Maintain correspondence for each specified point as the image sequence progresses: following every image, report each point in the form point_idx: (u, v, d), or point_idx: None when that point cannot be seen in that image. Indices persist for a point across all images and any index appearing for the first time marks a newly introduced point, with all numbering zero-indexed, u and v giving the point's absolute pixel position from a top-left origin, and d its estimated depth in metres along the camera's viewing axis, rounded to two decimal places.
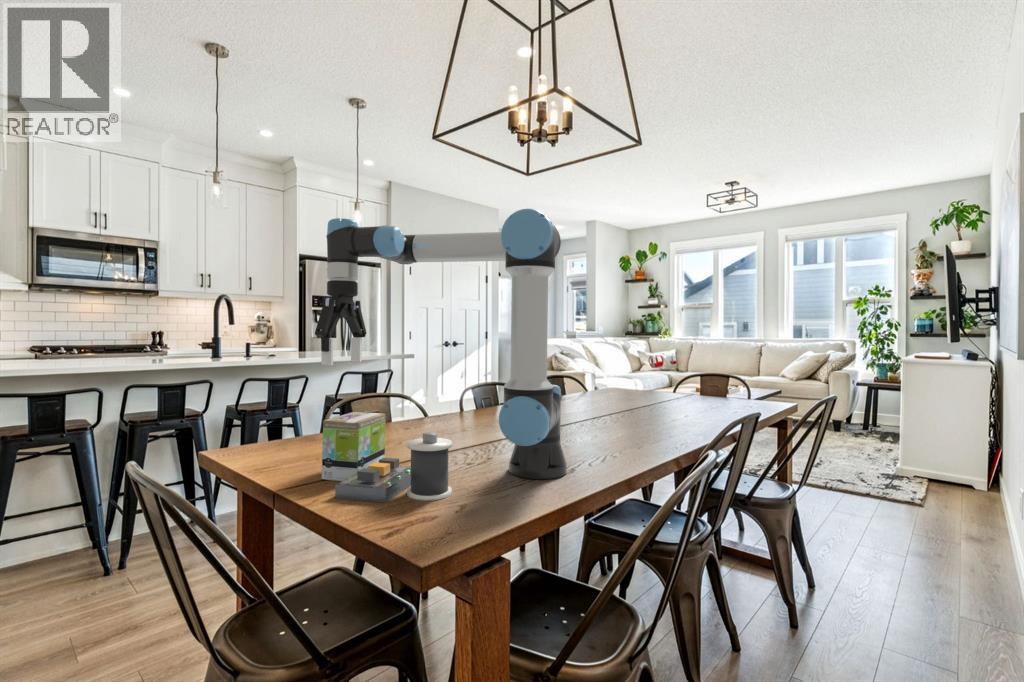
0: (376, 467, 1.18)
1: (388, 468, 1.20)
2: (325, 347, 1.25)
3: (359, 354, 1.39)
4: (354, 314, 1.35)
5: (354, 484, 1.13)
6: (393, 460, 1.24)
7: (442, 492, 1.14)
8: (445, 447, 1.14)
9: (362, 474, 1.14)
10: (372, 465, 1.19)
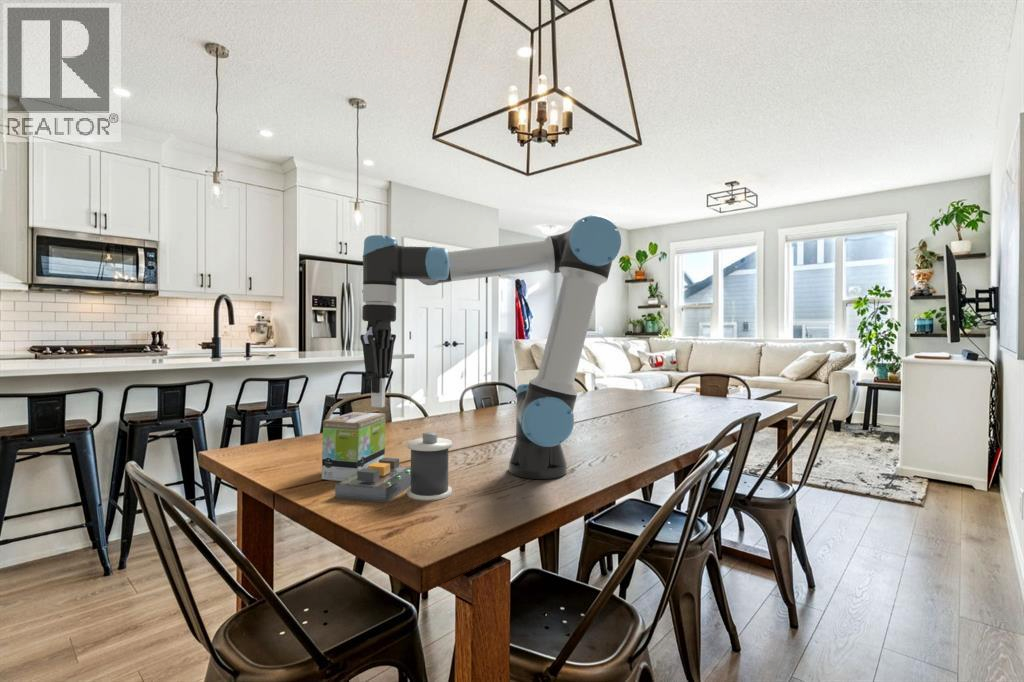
0: (376, 467, 1.18)
1: (388, 468, 1.20)
2: (376, 388, 1.17)
3: None
4: (387, 344, 1.20)
5: (354, 484, 1.13)
6: (393, 460, 1.24)
7: (442, 492, 1.14)
8: (445, 447, 1.14)
9: (362, 474, 1.14)
10: (372, 465, 1.19)
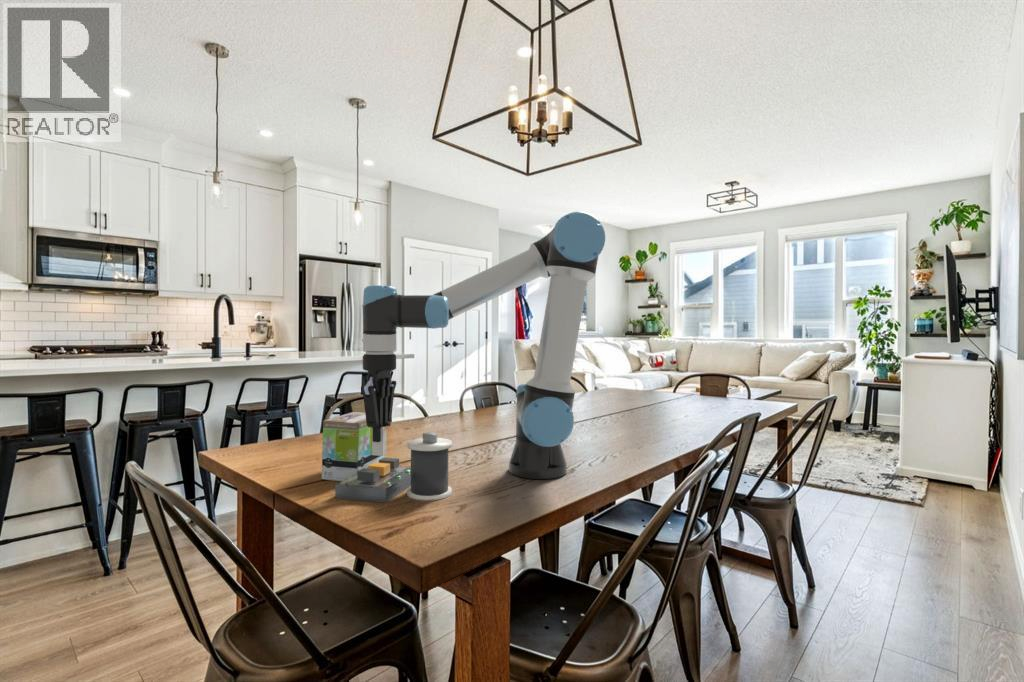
0: (376, 467, 1.18)
1: (388, 468, 1.20)
2: (377, 437, 1.18)
3: None
4: (388, 392, 1.20)
5: (354, 484, 1.13)
6: (393, 460, 1.24)
7: (442, 492, 1.14)
8: (445, 447, 1.14)
9: (362, 474, 1.14)
10: (372, 465, 1.19)
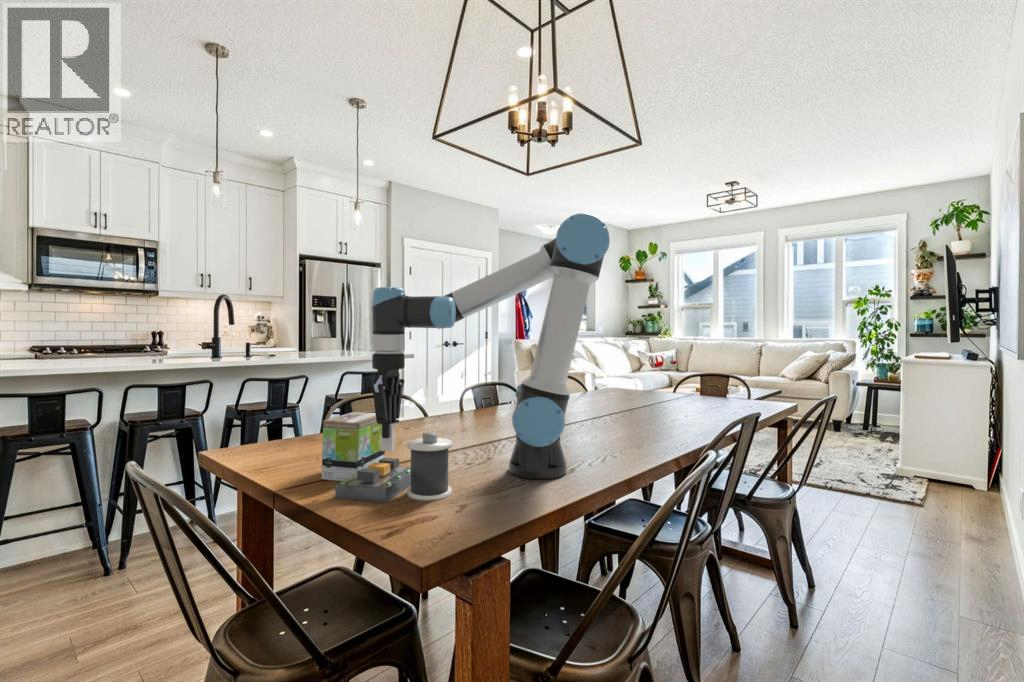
0: (376, 467, 1.18)
1: (388, 468, 1.20)
2: (386, 434, 1.22)
3: None
4: (397, 390, 1.24)
5: (354, 484, 1.13)
6: (393, 460, 1.24)
7: (442, 492, 1.14)
8: (445, 447, 1.14)
9: (362, 474, 1.14)
10: (372, 465, 1.19)
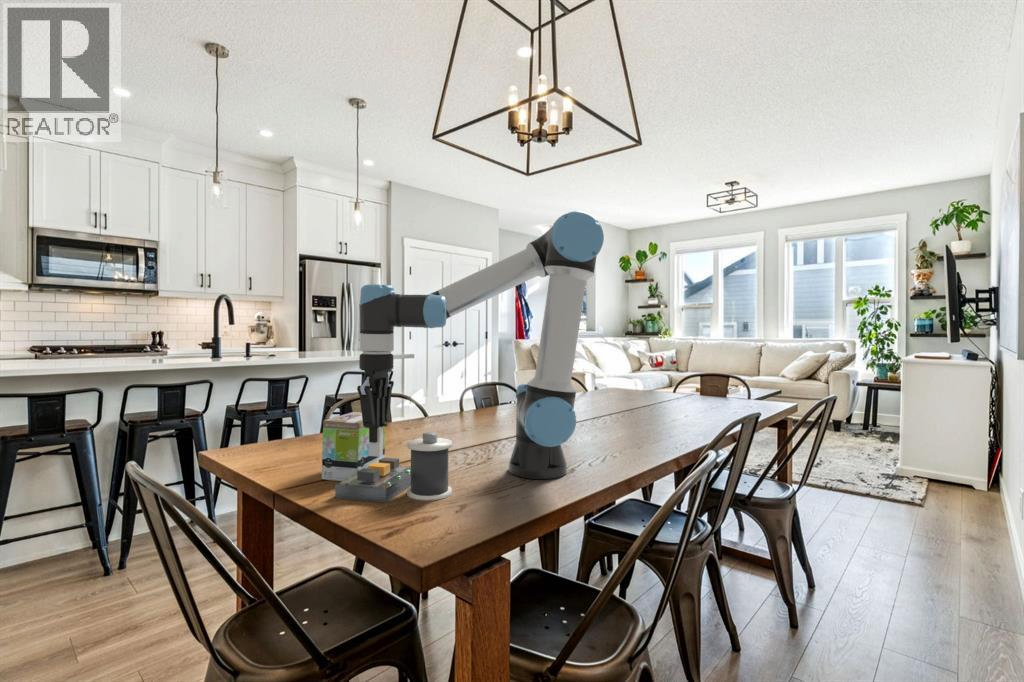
0: (376, 467, 1.18)
1: (388, 468, 1.20)
2: (373, 438, 1.16)
3: None
4: (385, 392, 1.19)
5: (354, 484, 1.13)
6: (393, 460, 1.24)
7: (442, 492, 1.14)
8: (445, 447, 1.14)
9: (362, 474, 1.14)
10: (372, 465, 1.19)
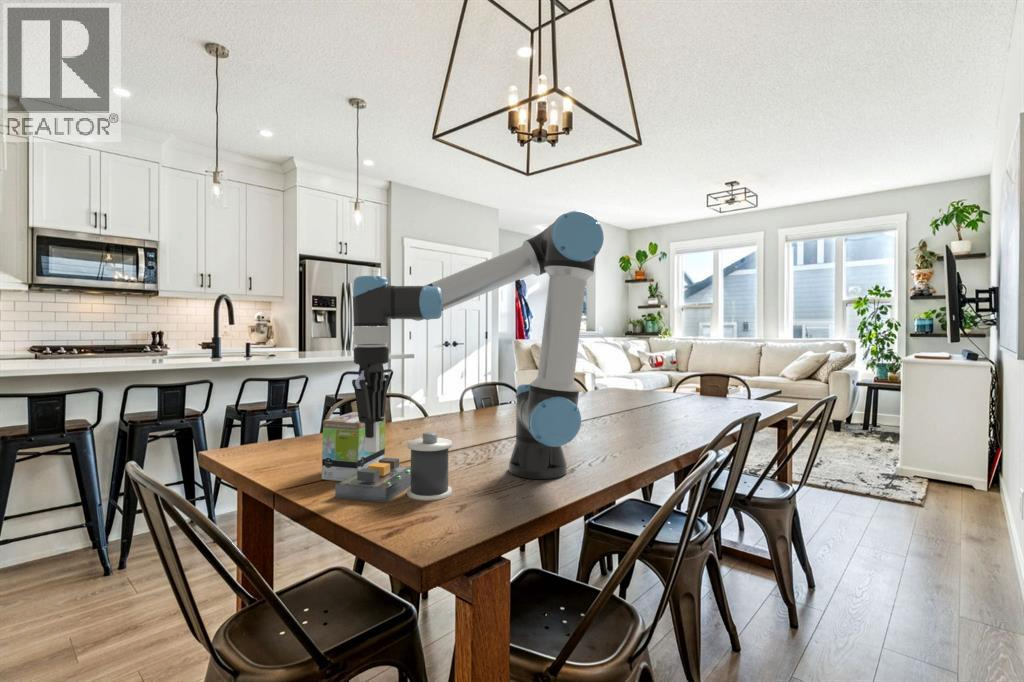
0: (376, 467, 1.18)
1: (388, 468, 1.20)
2: (370, 433, 1.14)
3: None
4: (381, 386, 1.16)
5: (354, 484, 1.13)
6: (393, 460, 1.24)
7: (442, 492, 1.14)
8: (445, 447, 1.14)
9: (362, 474, 1.14)
10: (372, 465, 1.19)
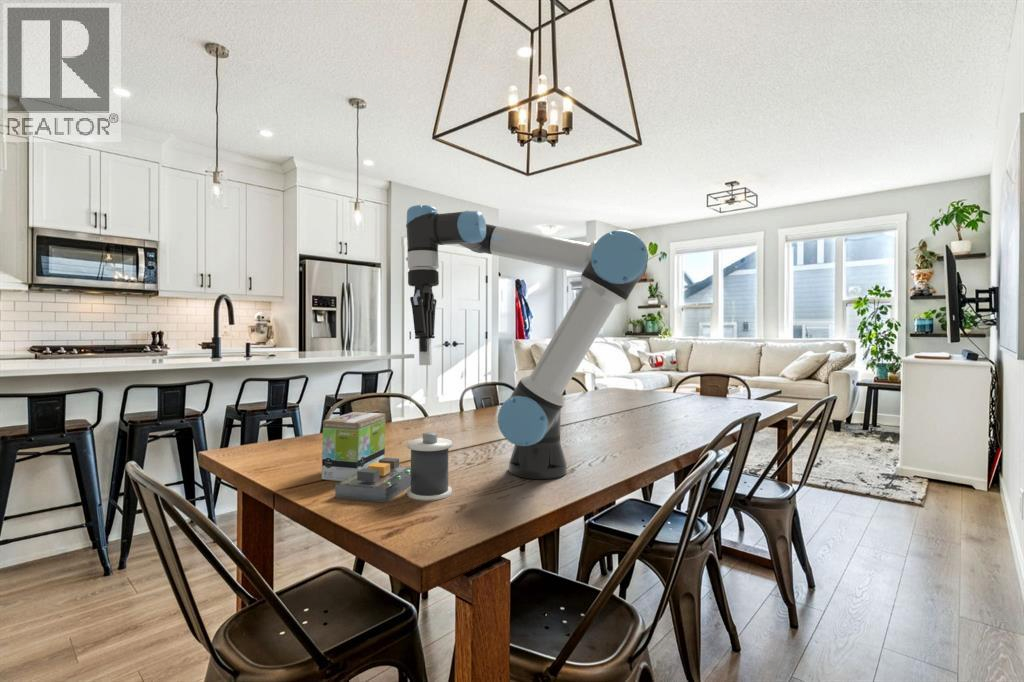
0: (376, 467, 1.18)
1: (388, 468, 1.20)
2: (424, 347, 1.27)
3: None
4: (432, 307, 1.29)
5: (354, 484, 1.13)
6: (393, 460, 1.24)
7: (442, 492, 1.14)
8: (445, 447, 1.14)
9: (362, 474, 1.14)
10: (372, 465, 1.19)
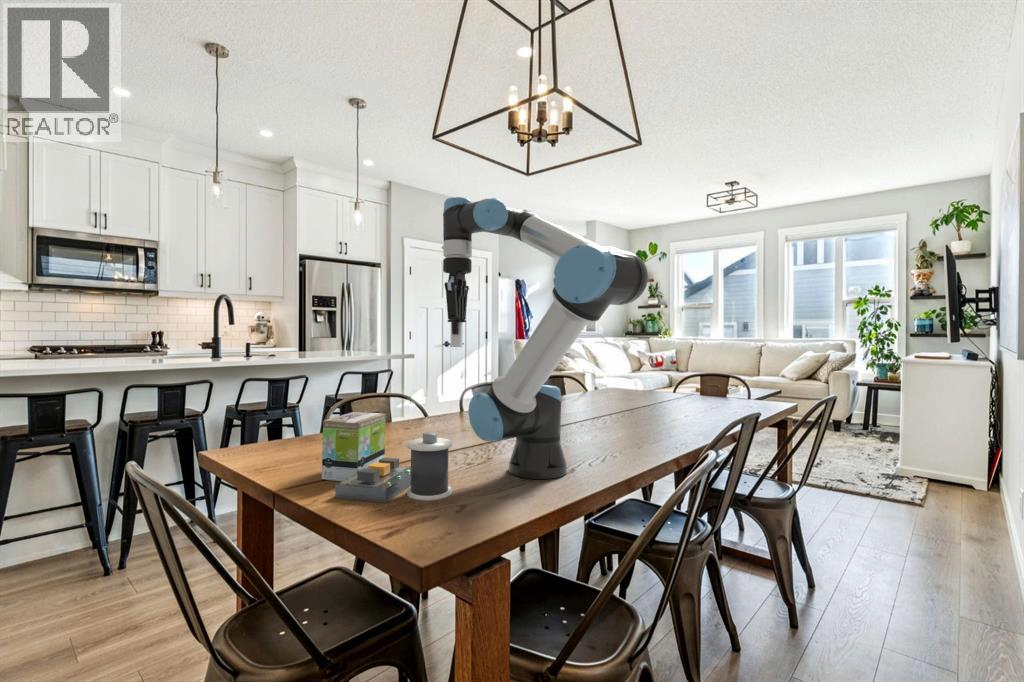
0: (376, 467, 1.18)
1: (388, 468, 1.20)
2: (456, 330, 1.36)
3: None
4: (464, 292, 1.38)
5: (354, 484, 1.13)
6: (393, 460, 1.24)
7: (442, 492, 1.14)
8: (445, 447, 1.14)
9: (362, 474, 1.14)
10: (372, 465, 1.19)
